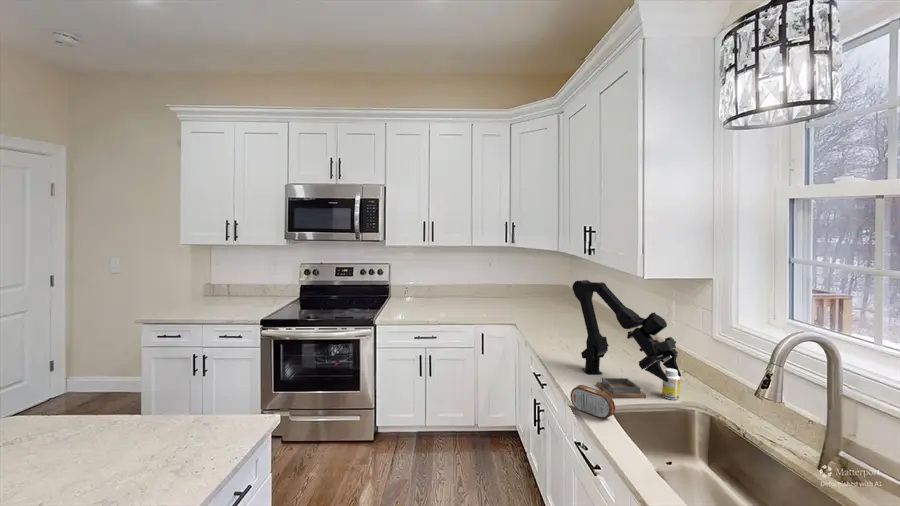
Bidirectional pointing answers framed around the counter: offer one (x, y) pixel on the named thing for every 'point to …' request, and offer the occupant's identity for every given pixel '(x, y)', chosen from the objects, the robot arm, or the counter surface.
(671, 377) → the supplement bottle
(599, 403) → the tin
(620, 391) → the collar base
